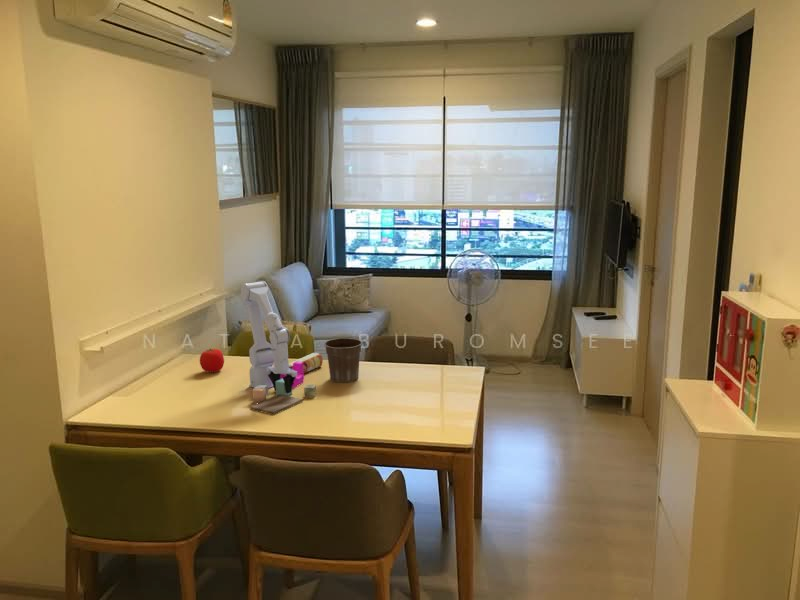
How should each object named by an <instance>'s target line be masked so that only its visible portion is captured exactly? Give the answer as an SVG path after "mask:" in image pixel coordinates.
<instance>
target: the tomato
mask: <svg viewBox="0 0 800 600" xmlns="http://www.w3.org/2000/svg"><path fill="white" fill-rule="evenodd" d="M224 364H225V358H224V355H223V352H222V351H221V350H220V349H218V348H209V349H205V350H204V351H203V352H202V353H201V354H200V356H199V366H200V367H201V368H202V370H203V371H205V372H206V373H211V372H212V373H217V371H218V372H220V371H221V370H222V369H223V368H224Z"/></svg>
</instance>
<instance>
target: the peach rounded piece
mask: <svg viewBox="0 0 800 600" xmlns="http://www.w3.org/2000/svg"><path fill="white" fill-rule="evenodd" d="M252 399H253V400H252V401H253V404H255V403H260V402H263V401H265V400H267V396H266V388H263V387H259V388H255V387H253V389H252Z"/></svg>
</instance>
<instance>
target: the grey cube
mask: <svg viewBox="0 0 800 600" xmlns="http://www.w3.org/2000/svg"><path fill="white" fill-rule="evenodd" d="M259 387H263V388H266V397H268V396H269V388H268V386H266V385H258V386H257V387H254V388H259Z"/></svg>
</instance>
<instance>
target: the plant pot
mask: <svg viewBox="0 0 800 600" xmlns="http://www.w3.org/2000/svg"><path fill="white" fill-rule="evenodd" d="M362 345H363V341H362V340H361V339H357V338H350V337H342V338H334V339H329V340H326V341H325V342H324V347H325V352H326V354H327V363H328V370H329V378H330V380H331V381H332V382H335V383H337V382H339V383H341V382H345V383H351V381H352V382H354V381H355V382H356V381H357V380H358V379H359V371H360V369H359V368H360V358H361V357H360V356H361V355H360V353H361V350H362Z"/></svg>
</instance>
